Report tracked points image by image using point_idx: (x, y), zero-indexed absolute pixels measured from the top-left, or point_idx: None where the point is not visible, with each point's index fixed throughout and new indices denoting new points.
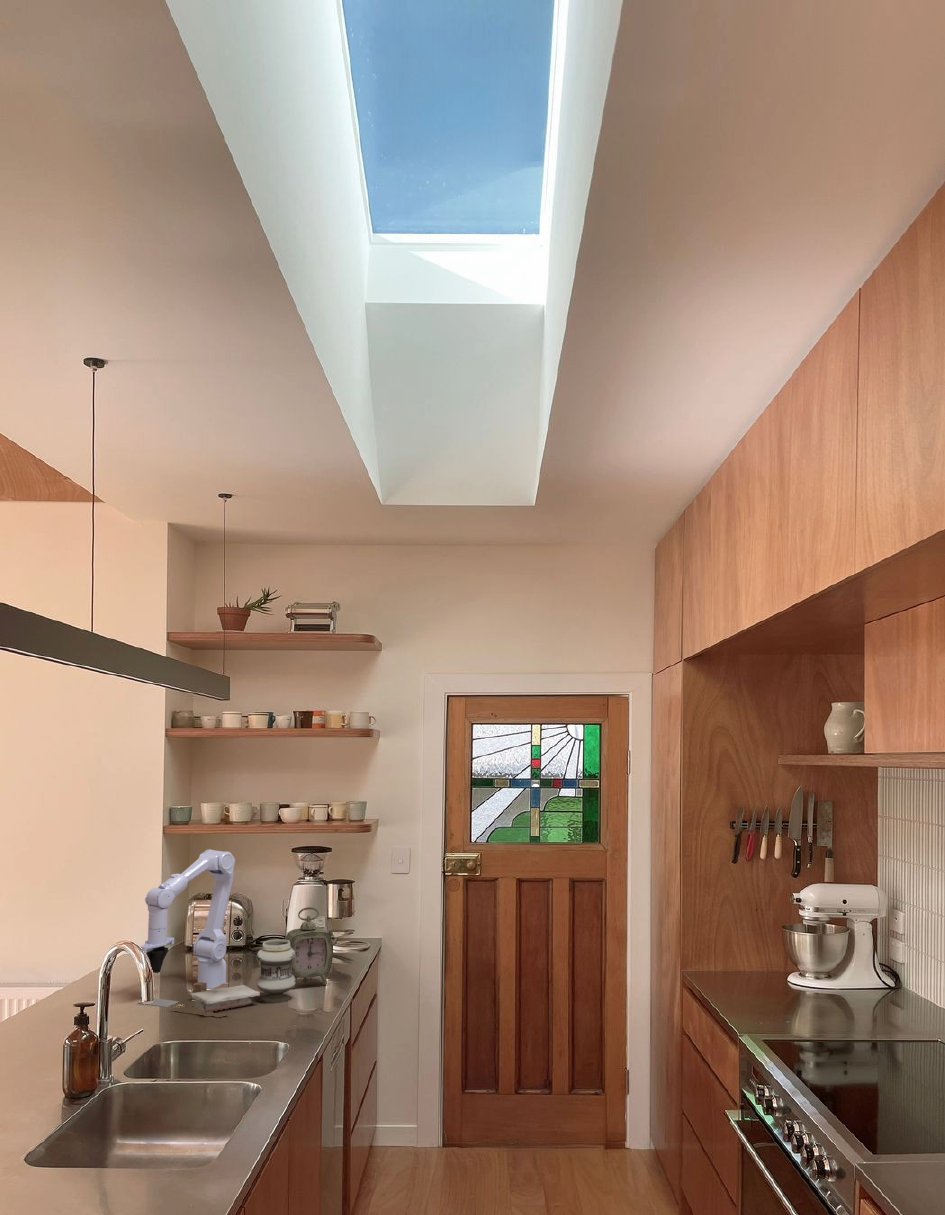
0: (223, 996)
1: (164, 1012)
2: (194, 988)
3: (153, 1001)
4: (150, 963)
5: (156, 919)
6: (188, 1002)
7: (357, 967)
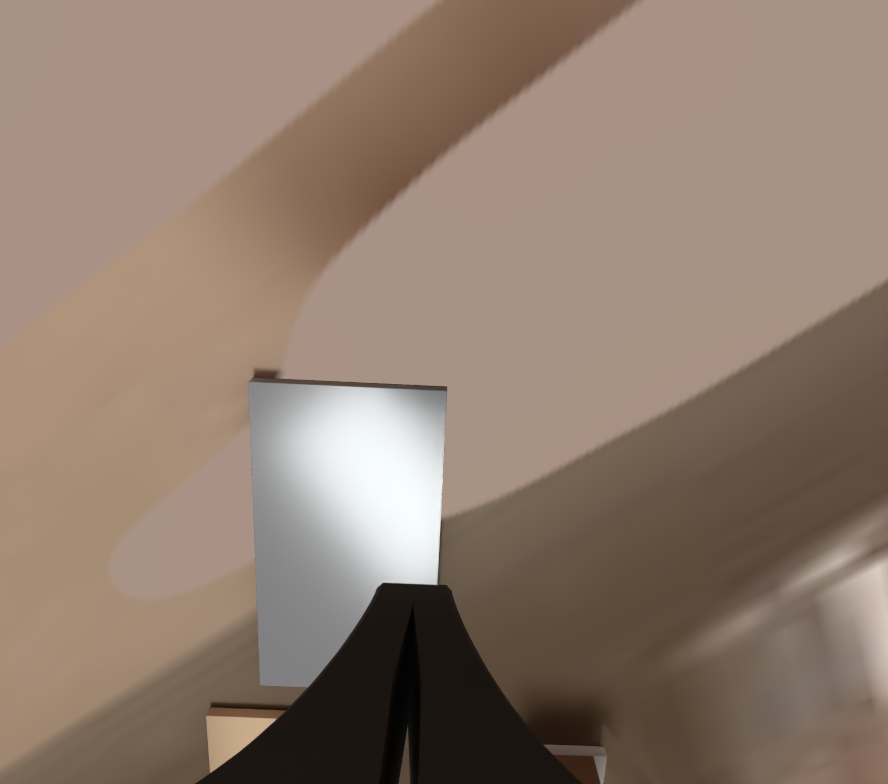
0: None
1: (170, 707)
2: None
3: (347, 496)
4: (329, 667)
5: None
6: None
7: None
